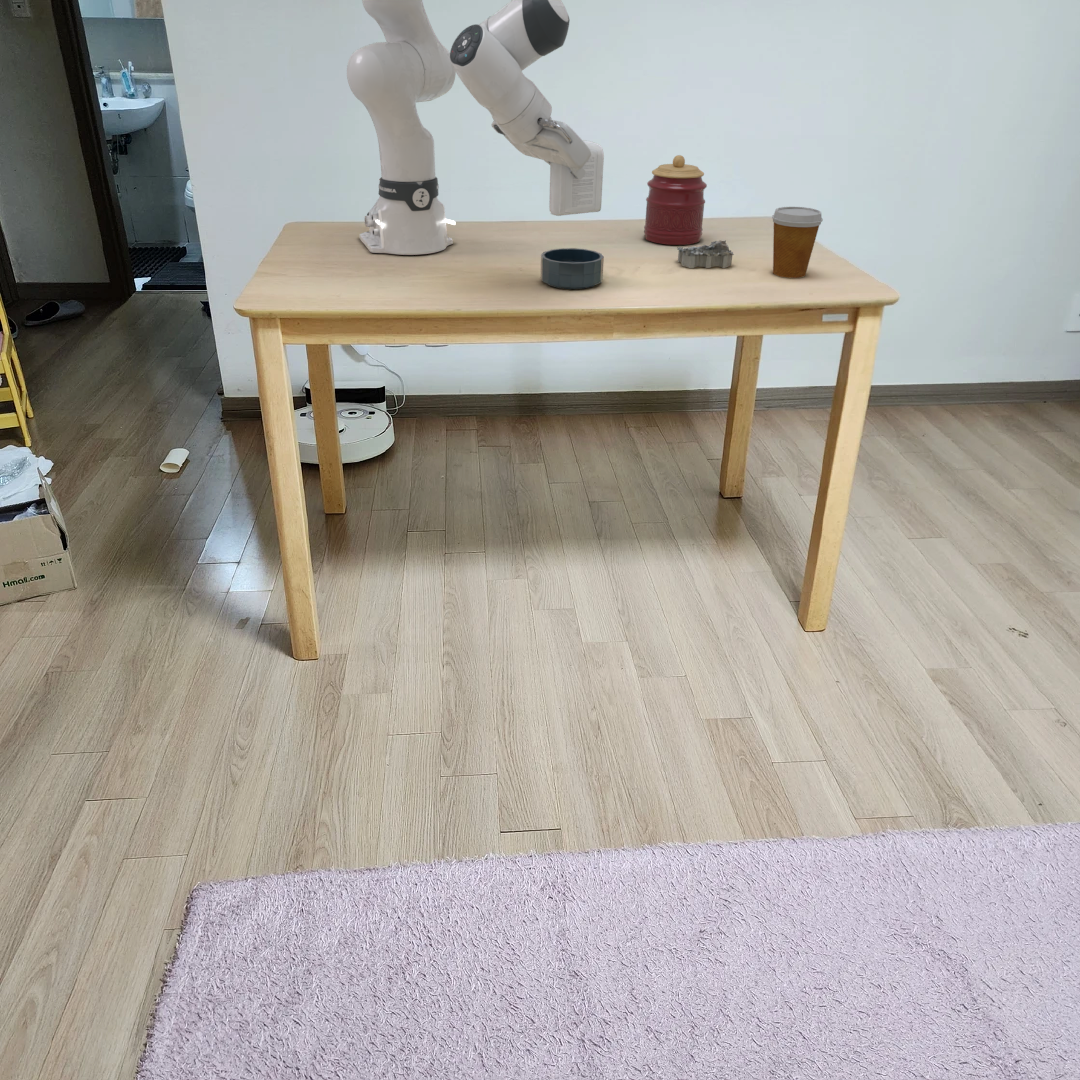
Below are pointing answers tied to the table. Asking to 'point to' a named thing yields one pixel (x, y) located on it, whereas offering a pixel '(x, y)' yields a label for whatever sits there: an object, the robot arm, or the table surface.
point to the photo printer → (577, 185)
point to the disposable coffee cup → (794, 240)
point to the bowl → (572, 268)
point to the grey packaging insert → (706, 255)
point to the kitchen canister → (675, 204)
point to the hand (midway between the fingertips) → (572, 173)
